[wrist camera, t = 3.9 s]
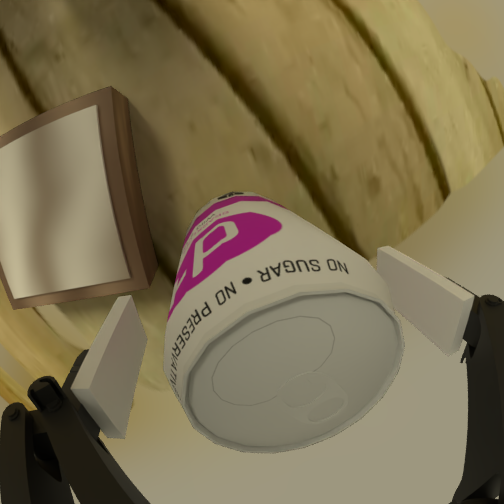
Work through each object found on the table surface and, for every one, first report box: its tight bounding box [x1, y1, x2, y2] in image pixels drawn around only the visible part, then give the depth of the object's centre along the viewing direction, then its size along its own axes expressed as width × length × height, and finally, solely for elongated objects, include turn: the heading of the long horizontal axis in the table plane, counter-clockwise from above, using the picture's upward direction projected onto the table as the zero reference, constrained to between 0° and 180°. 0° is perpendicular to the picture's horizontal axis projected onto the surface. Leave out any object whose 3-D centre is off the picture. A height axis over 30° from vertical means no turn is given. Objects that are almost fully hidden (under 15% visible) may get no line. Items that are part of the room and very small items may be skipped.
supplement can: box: [163, 192, 405, 453], centre depth 14 cm, size 8×8×15 cm
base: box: [0, 86, 158, 310], centre depth 16 cm, size 13×13×4 cm
